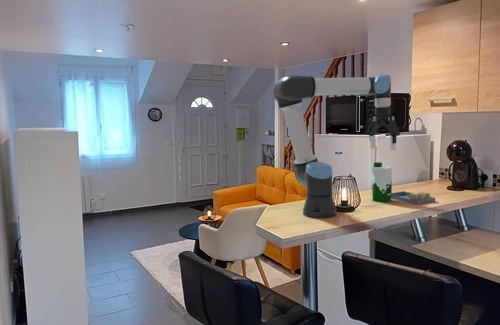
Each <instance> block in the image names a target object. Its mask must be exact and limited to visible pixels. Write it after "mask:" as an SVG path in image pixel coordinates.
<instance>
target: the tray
mask: <svg viewBox="0 0 500 325" xmlns="http://www.w3.org/2000/svg"><path fill="white" fill-rule="evenodd" d="M412 193H413V192H409V191H405V190H402V191H397V192H396V191H395V192H392V193H391V200H395V201H398V202H403V203H408V204H411V205H414V206H417V205H423V204H428V203H434V202H436V197H435V196H430V198H429V199H423V200H417V201H416V200H411V199H409V194H412Z"/></svg>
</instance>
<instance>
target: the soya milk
mask: <svg viewBox="0 0 500 325" xmlns="http://www.w3.org/2000/svg"><path fill="white" fill-rule="evenodd" d="M371 174H372V176H371V177H372V179H371V180H372V185H371V186H372V187H371V188H372V189H371V190H372V191H371V193H372V194H371V195H372V198H371V199H372V200H371V201H372V202H378V203H388V202H390V201H392V199H391V193H393V191H392V190H393V189H392V185H393V184H392V183H393V182H392V181H393V177H392V176H393V167H392V166H387V165H383V163H382V162H378V161H377V162H373V166H372V167H371Z"/></svg>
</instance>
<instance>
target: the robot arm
mask: <svg viewBox="0 0 500 325" xmlns="http://www.w3.org/2000/svg"><path fill="white" fill-rule="evenodd" d="M391 80H392V79H391V75H389V74H381V75H376V76H374V77H373V76H369V77H367V76H365V77H362V76H361V77H317V78H316V77H315V76H314V75H311V76H310V75H297V74H291V75H287V76H285V77H281V78H279V79H278V80H277V81H276V82H275V83H274V85H273V87H272V95H273V99H274V100H275V101H276V102H277V107H278V109H279V110H280V111H282V112H283V116H284V120H285V124H286V127H287V130H288V135H289V139H290V143H291V146H292V149H293V154H294V157H295V159H294V161H293V167H294V171H293V175H294V177H295V178H294V179H295V180H296V181H297V182H298V183H299V184H301V185H302V186H304V187H306V197H305V201H304V205H303V207H302V214H303V215H304V216H305V215H306V217H308V216H310V217H309V218H315V217H316V218H319V219H320V218H323V219H325V218H332V217H334V216H336V215H337V207H336V205H335V201H334V199H333V169H332V168H333V167H332V165H331V164H330V163H327V162H323V161H318V157H317V156H316V155H315V154H313V149H312V145H311V142H310V138H309V134H308V131H307V127H306V122H305V118H304V115H303V110H302V105H303V100H304V99H313V98H315V96H340V95H341V96H342V95H343V96H344V95H345V96H346V95H347V96H348V95H353V96H354V97H355V96H356V97H357V96H358V97H360V96H374V115H375V116H370V122H369V125H368V128H367V131H366V135H367V136H369V142H370V146H369V148H370V149H376V133H377V132H378V129H379V128H380V127H381V126H383V127H385V128H386V130H387V131H388V132H389V134H390V137H389V140H390V141H389V142H390V144H389V146H390V147H389V150H390V151H396V144H397V137H398V136H401V132H400V130H399V127H398V125H397V123H396V117H395V116H390V115H391V112H392V111H391V110H392V109H391V105H392V103H391V102H392V100H391V93H392V92H391V91H392V81H391ZM316 218H315V219H316Z"/></svg>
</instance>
